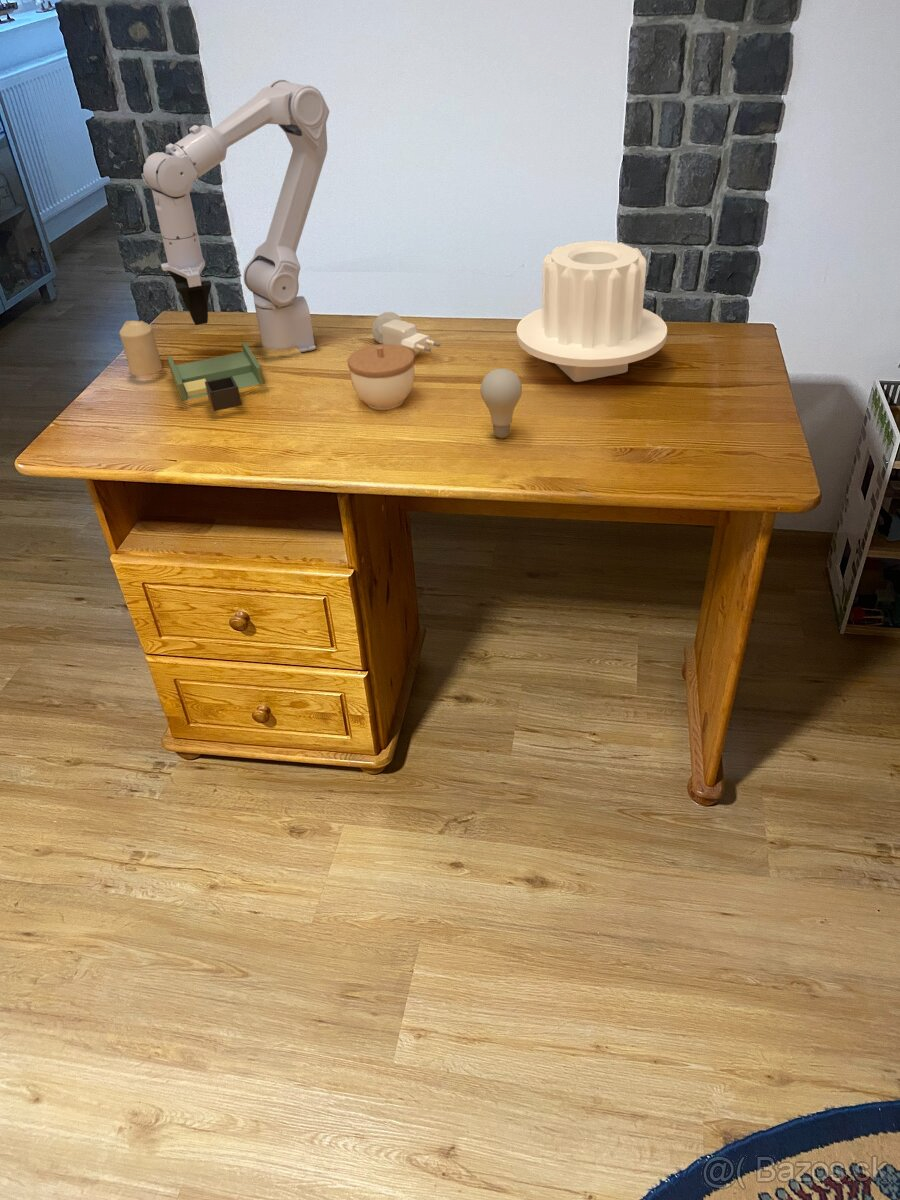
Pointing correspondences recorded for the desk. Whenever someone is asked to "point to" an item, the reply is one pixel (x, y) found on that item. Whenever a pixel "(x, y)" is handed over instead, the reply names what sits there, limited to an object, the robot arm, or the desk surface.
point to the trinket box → (382, 375)
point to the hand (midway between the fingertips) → (197, 316)
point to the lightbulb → (501, 398)
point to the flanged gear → (592, 311)
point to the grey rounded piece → (379, 323)
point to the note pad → (195, 387)
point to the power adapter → (406, 336)
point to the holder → (223, 393)
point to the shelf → (218, 370)
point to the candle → (140, 348)
